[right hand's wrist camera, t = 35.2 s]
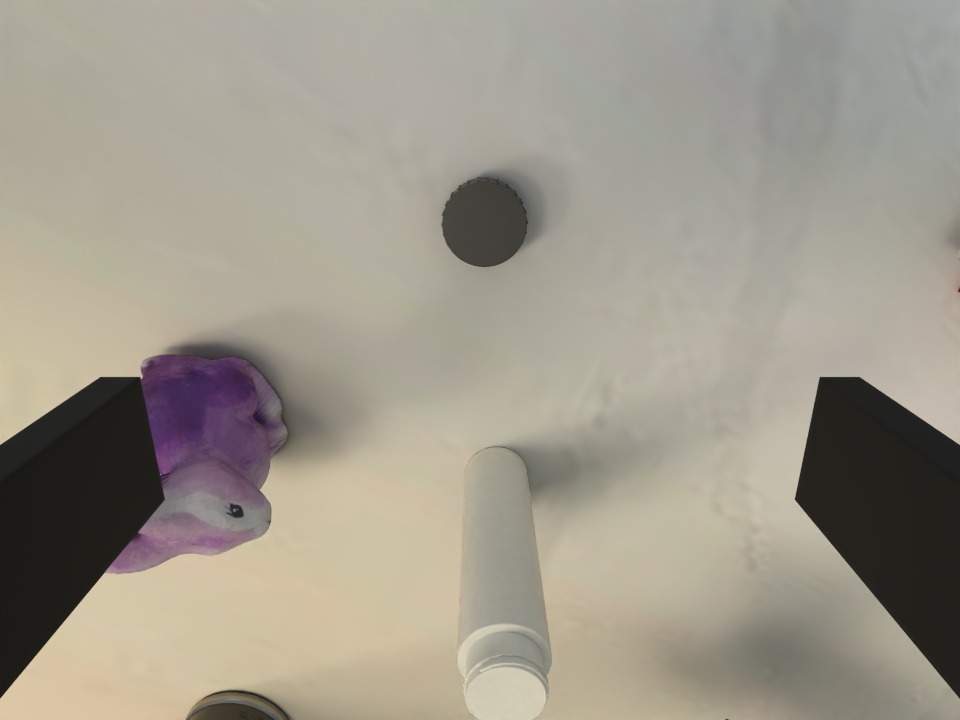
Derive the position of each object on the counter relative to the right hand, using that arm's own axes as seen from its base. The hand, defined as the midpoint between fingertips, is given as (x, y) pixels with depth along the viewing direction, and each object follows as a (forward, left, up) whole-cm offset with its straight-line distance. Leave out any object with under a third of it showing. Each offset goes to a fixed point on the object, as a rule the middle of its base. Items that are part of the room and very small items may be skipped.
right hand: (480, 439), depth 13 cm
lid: (0, 0, -28) cm, 28 cm away
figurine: (-20, -9, -30) cm, 37 cm away
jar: (-3, -18, -30) cm, 36 cm away
